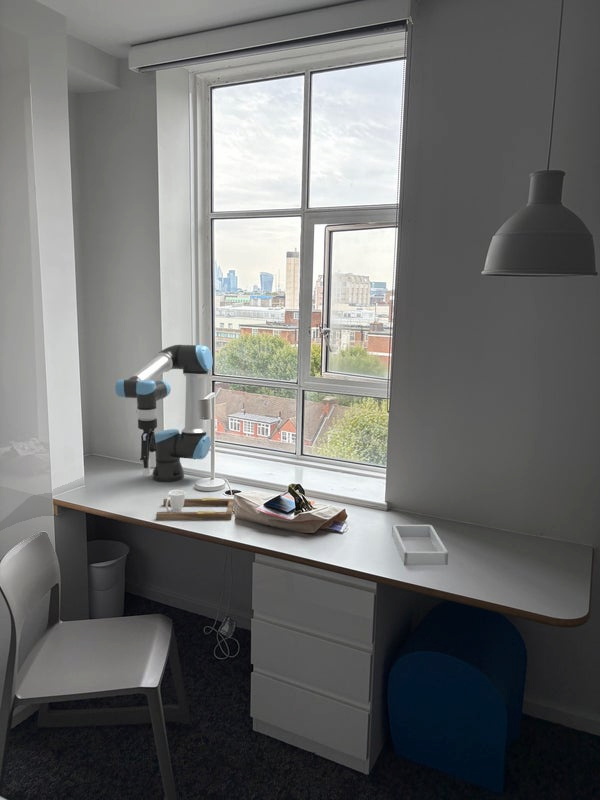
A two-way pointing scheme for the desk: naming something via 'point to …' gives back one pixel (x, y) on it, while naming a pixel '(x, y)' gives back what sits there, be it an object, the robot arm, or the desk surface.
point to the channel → (200, 514)
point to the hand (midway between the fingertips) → (149, 470)
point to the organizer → (419, 557)
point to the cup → (176, 500)
